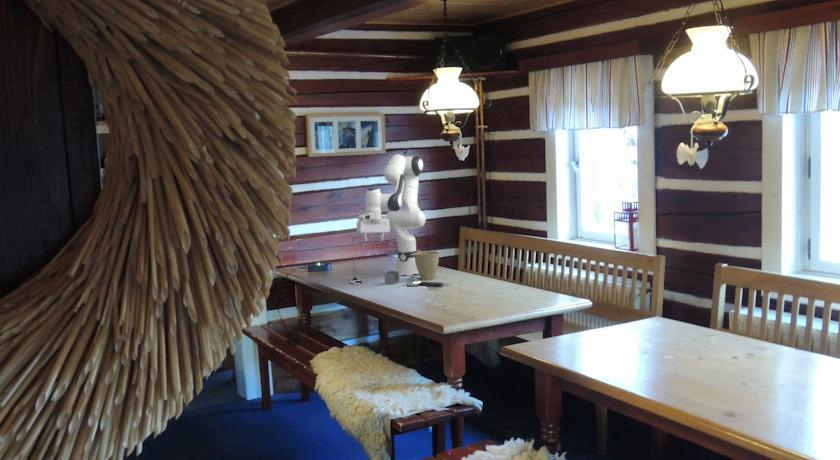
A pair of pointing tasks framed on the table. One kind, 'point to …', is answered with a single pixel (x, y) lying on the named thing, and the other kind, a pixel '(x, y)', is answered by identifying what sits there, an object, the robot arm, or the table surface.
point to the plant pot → (427, 264)
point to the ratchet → (415, 283)
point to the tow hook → (354, 271)
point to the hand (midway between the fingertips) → (373, 241)
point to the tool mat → (439, 287)
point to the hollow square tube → (391, 277)
